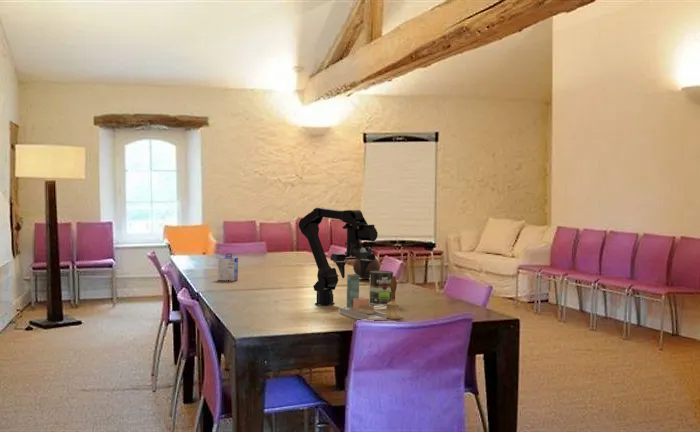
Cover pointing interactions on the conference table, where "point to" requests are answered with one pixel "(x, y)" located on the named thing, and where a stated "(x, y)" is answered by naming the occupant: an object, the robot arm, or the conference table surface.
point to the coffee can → (380, 287)
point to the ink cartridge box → (228, 268)
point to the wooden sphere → (371, 267)
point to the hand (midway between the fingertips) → (352, 277)
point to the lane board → (357, 315)
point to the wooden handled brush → (393, 302)
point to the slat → (356, 295)
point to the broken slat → (380, 308)
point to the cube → (360, 302)
